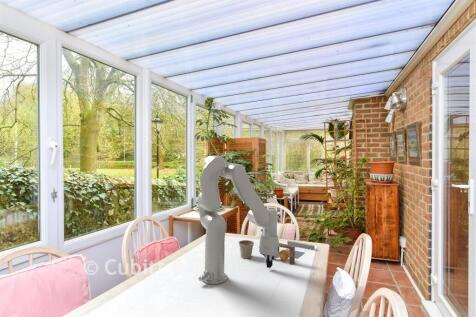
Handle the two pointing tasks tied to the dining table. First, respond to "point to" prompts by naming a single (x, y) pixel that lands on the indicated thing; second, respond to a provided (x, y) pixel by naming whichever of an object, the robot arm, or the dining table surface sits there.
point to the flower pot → (246, 248)
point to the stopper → (301, 245)
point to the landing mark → (297, 253)
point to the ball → (283, 254)
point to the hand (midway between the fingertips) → (269, 266)
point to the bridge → (291, 252)
